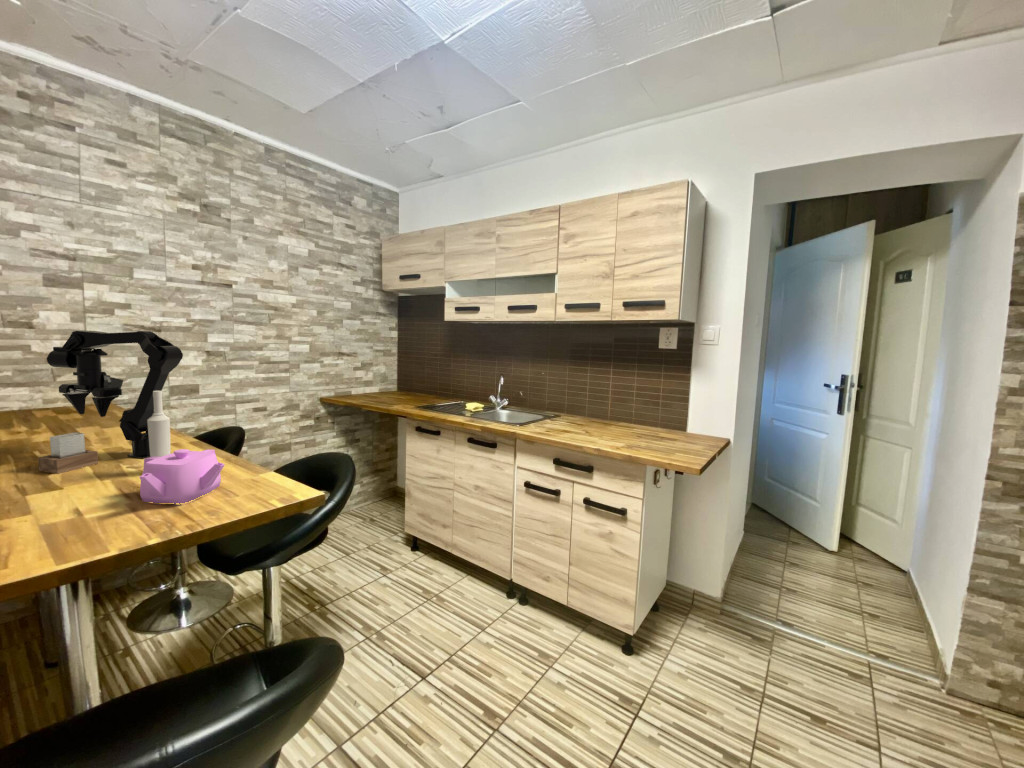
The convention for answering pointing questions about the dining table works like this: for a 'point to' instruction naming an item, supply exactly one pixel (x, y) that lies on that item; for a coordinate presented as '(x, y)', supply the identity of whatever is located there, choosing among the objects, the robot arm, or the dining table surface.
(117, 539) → the dining table surface
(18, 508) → the dining table surface
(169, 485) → the teakettle
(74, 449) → the light grey squat block
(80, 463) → the post block
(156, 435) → the bottle
